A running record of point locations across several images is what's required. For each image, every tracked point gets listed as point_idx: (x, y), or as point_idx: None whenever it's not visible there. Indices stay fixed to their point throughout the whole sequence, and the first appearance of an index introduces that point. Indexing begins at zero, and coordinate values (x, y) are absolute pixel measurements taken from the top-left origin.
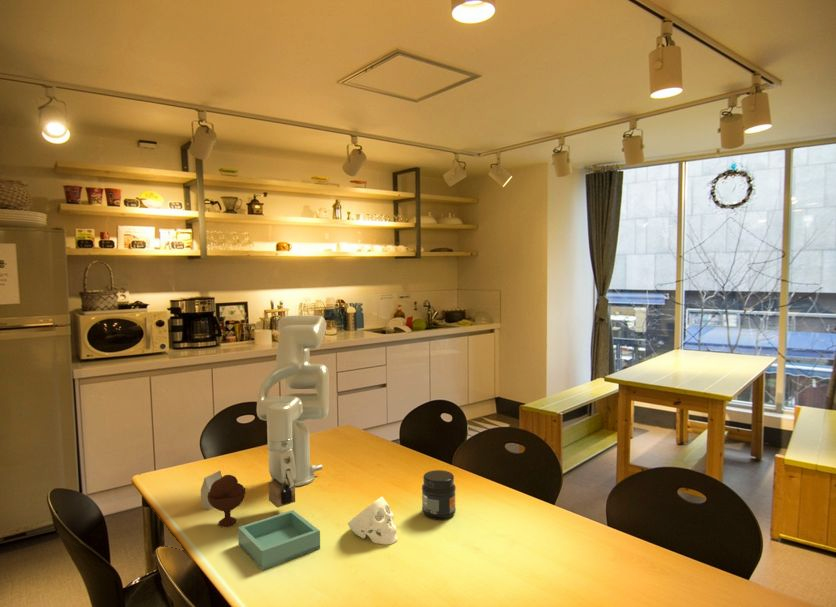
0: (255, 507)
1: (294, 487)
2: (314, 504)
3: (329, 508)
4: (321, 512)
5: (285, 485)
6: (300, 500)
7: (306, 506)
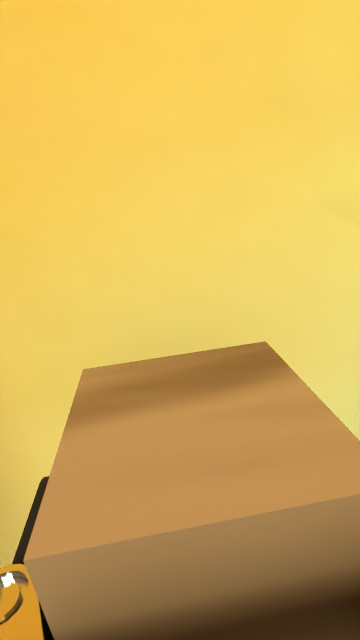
0: (9, 497)
1: (354, 440)
2: (179, 119)
3: (335, 27)
4: (353, 133)
5: (357, 603)
6: (34, 198)
7: (178, 198)
